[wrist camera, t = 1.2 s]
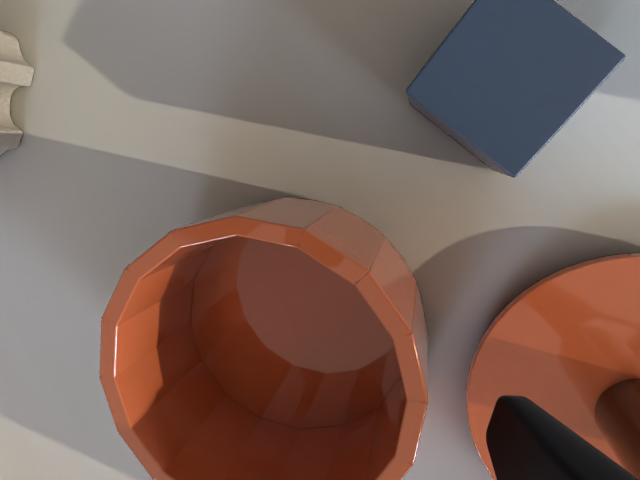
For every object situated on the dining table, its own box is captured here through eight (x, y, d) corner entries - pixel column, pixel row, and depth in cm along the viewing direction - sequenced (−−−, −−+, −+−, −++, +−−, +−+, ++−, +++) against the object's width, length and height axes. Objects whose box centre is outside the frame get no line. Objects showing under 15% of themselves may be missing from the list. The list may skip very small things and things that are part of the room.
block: (485, 6, 18) (504, -39, 14) (577, 78, 18) (627, 55, 13) (409, 103, 19) (404, 91, 15) (494, 171, 19) (515, 178, 15)
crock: (192, 178, 22) (104, 190, 16) (450, 224, 20) (460, 259, 14) (175, 400, 25) (95, 482, 19) (398, 463, 23) (388, 579, 17)
